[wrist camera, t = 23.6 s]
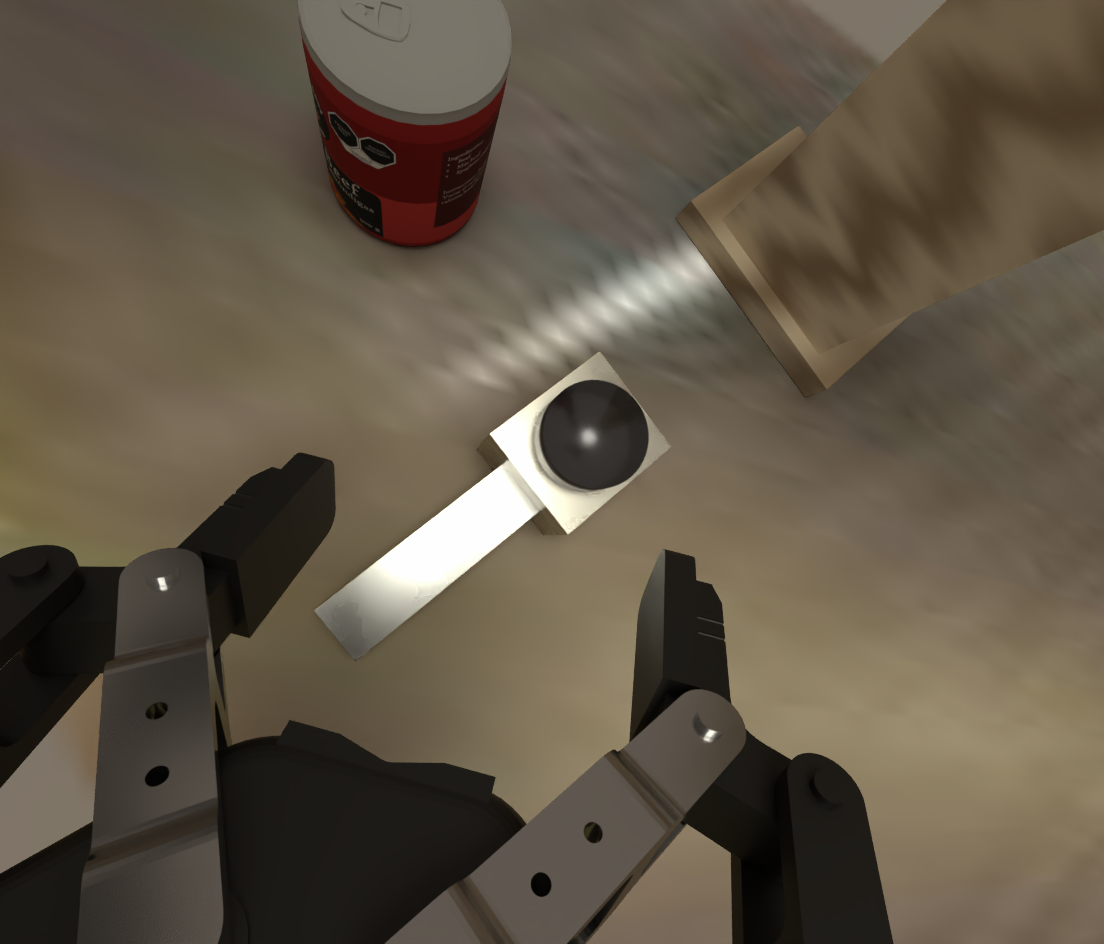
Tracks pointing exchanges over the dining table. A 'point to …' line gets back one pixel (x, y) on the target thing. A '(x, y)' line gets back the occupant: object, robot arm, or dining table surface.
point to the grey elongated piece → (508, 498)
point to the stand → (916, 182)
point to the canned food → (407, 107)
